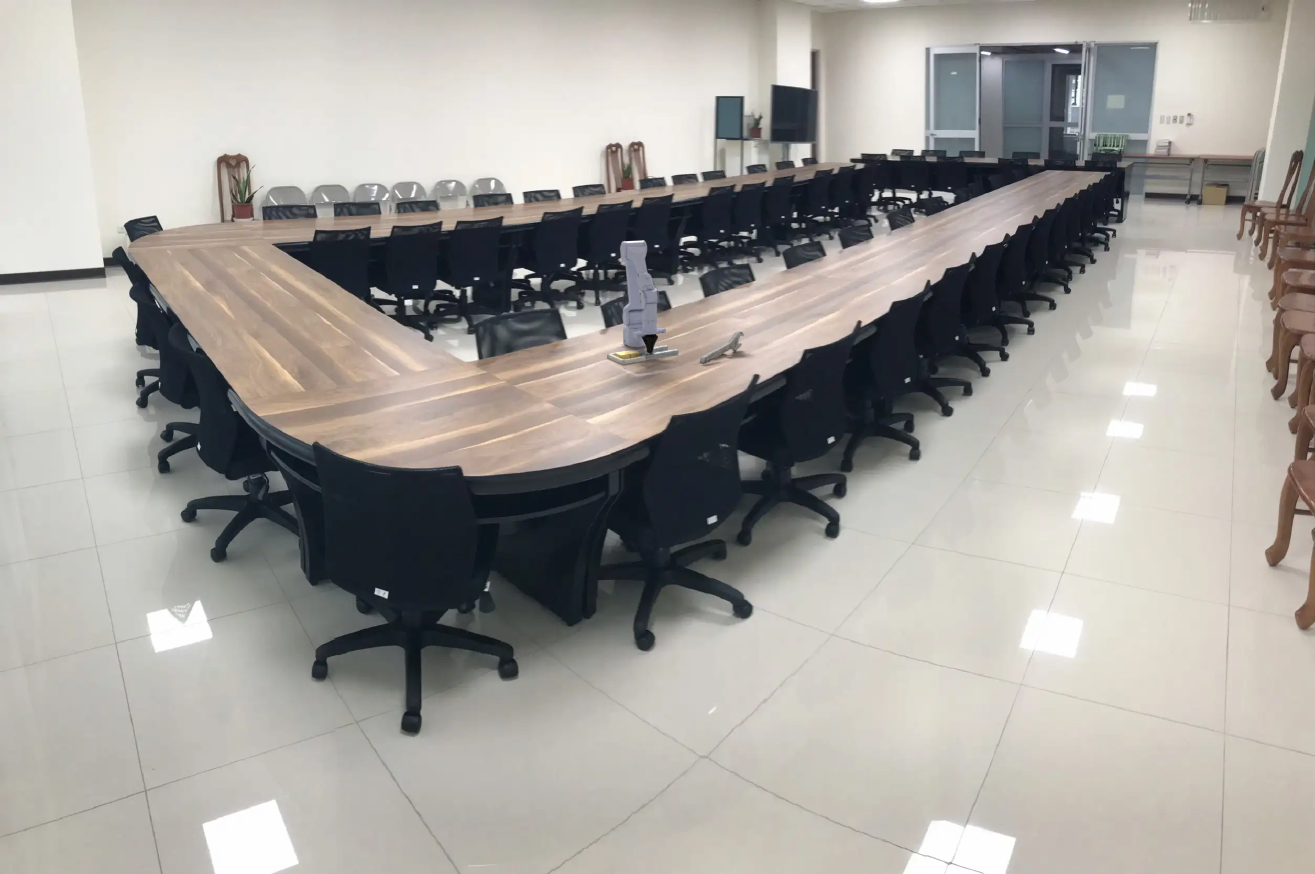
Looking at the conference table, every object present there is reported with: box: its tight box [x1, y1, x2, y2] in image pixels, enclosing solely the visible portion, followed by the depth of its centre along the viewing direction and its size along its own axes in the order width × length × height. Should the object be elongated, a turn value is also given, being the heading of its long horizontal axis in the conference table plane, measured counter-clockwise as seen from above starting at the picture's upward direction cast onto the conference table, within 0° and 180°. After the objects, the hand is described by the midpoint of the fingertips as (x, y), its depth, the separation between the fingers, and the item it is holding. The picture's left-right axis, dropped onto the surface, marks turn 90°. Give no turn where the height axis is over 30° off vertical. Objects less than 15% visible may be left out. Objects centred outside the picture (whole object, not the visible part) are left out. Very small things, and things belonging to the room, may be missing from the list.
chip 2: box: [625, 349, 639, 359], centre depth 364 cm, size 4×4×3 cm
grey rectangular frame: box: [606, 349, 645, 365], centre depth 363 cm, size 12×10×2 cm
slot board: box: [635, 344, 681, 362], centre depth 370 cm, size 12×17×2 cm
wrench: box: [699, 330, 745, 365], centre depth 370 cm, size 8×2×30 cm
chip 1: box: [615, 351, 630, 360], centre depth 362 cm, size 4×4×3 cm
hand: (649, 352), depth 368 cm, fingers closed
